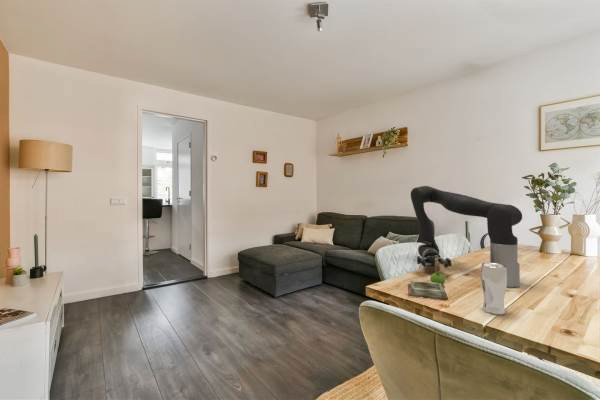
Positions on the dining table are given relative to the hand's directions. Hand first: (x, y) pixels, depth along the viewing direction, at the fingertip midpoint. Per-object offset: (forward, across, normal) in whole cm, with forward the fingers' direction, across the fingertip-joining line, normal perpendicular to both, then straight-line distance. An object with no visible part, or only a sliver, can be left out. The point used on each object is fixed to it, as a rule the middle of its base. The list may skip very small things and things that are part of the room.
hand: (435, 264), depth 123 cm
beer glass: (+30, +14, +7) cm, 34 cm away
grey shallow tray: (+19, -5, +7) cm, 21 cm away
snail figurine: (+8, 0, +7) cm, 11 cm away
